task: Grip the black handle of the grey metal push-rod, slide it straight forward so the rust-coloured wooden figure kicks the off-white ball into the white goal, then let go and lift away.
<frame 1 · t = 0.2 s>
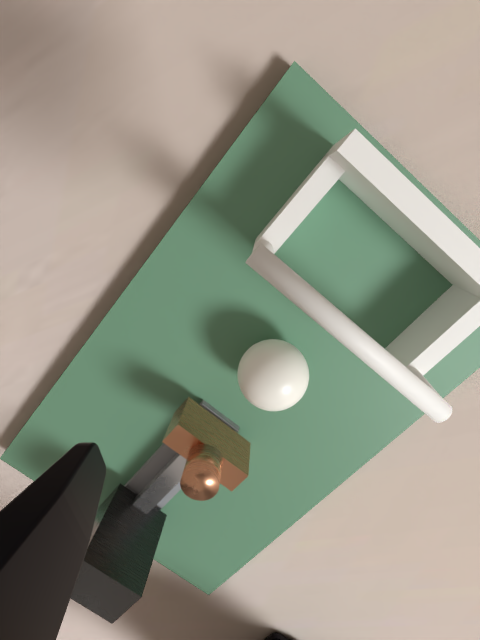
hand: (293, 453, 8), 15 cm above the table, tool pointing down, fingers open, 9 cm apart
pitch: (242, 385, 25), on the table
push rod: (156, 507, 23), point 5 cm above the table, slide at 0.0 cm
goal: (357, 263, 22), resting on pitch
ball: (272, 374, 21), point 3 cm above the table, touching pitch
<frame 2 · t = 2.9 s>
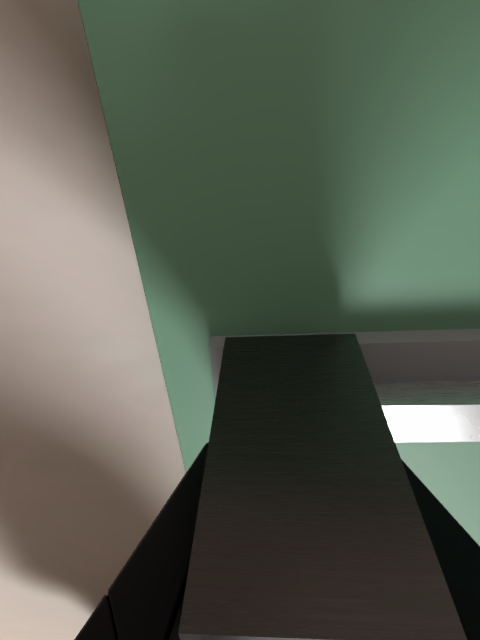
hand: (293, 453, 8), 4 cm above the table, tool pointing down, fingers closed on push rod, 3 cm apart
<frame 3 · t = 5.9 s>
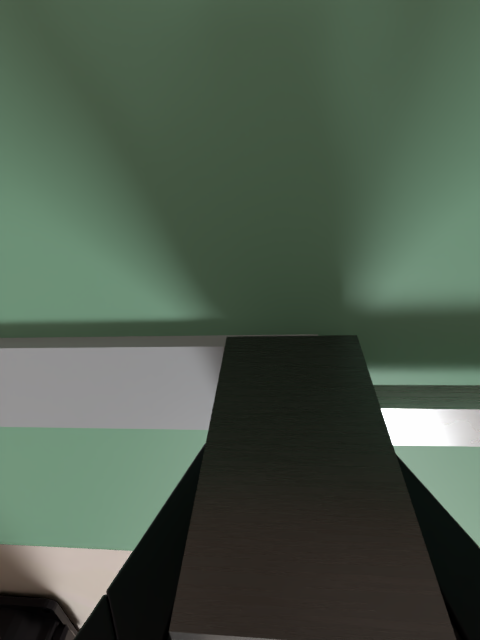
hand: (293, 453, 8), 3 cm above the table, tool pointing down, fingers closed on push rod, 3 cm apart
pitch: (381, 357, 11), on the table
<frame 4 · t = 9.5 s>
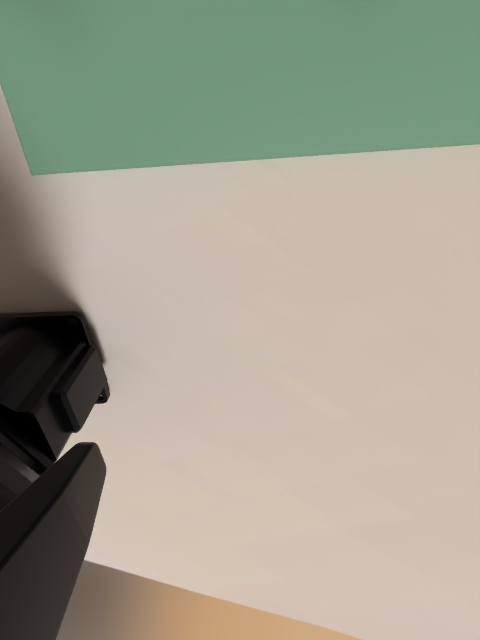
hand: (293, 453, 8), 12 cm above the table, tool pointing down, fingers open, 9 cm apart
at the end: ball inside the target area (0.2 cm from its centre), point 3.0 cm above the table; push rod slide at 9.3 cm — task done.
